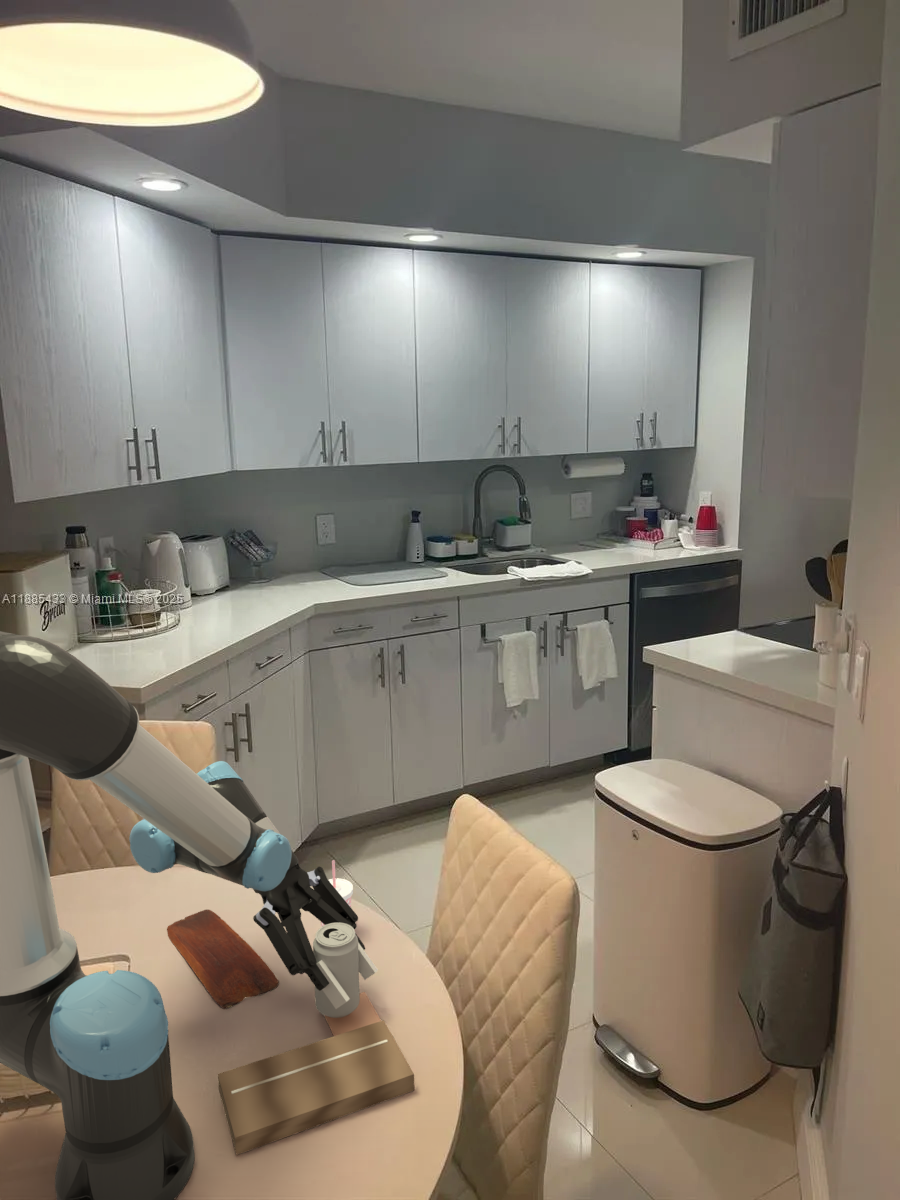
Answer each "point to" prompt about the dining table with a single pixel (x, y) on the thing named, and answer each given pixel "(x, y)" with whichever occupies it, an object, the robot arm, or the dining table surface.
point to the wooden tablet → (221, 958)
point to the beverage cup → (341, 887)
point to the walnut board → (312, 1085)
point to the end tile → (354, 1017)
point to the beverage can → (338, 966)
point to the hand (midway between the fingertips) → (357, 988)
